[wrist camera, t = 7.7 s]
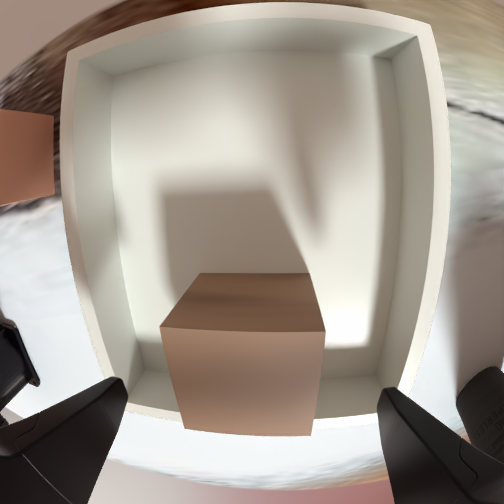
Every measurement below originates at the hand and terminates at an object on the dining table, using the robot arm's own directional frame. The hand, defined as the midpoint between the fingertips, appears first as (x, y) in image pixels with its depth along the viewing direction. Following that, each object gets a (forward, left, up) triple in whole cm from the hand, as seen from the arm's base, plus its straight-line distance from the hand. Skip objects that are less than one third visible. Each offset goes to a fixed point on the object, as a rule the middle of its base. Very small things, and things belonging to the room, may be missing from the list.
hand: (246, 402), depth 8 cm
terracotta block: (+9, +15, -7) cm, 19 cm away
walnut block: (0, 0, -5) cm, 5 cm away
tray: (+4, 0, -6) cm, 8 cm away
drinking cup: (-9, -18, -7) cm, 21 cm away
